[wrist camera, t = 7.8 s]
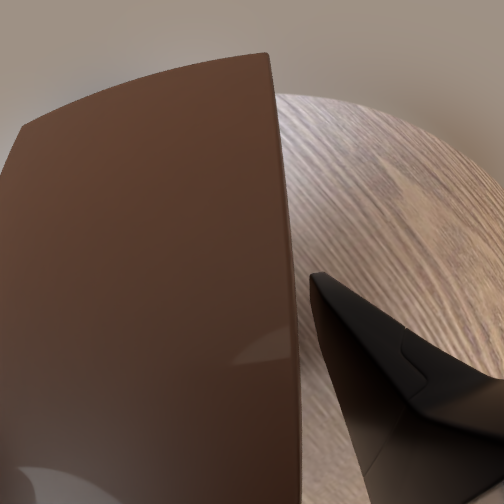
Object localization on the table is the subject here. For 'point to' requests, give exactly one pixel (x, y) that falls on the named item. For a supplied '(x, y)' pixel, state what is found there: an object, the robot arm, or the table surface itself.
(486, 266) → the table surface
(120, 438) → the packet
